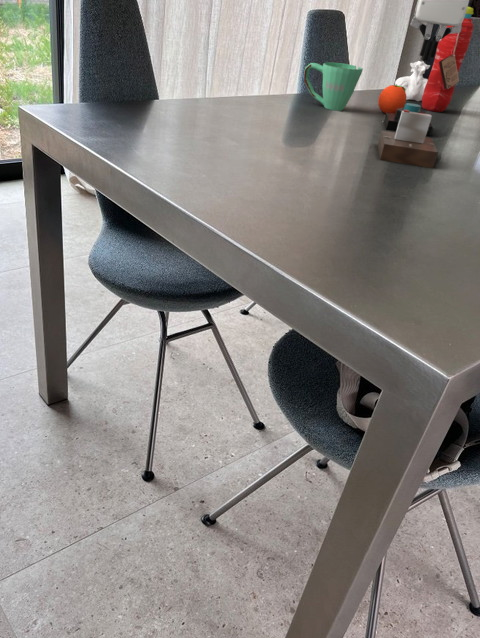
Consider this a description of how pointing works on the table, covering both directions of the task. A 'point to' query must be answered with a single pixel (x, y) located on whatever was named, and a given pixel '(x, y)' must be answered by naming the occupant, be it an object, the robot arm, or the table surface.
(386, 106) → the clementine
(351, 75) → the mug
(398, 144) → the block
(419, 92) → the bust
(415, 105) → the button
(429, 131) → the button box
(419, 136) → the silver flat panel
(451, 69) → the red bag
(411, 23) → the robot arm
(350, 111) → the table surface
